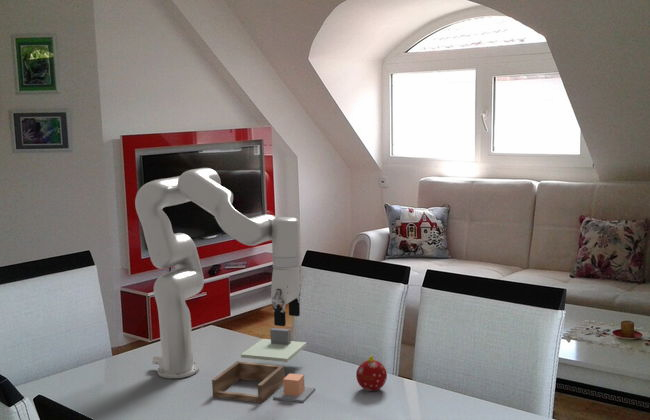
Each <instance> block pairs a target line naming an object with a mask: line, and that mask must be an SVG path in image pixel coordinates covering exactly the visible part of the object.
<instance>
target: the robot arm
mask: <svg viewBox="0 0 650 420" xmlns="http://www.w3.org/2000/svg"><path fill="white" fill-rule="evenodd" d="M221 184H222V182H221V178H220V176H219V174H218V172H217V171H216V170H215V169H212V168H210V167H200V168H194V169H193V168H192V169H190V170H189V169H188V170H186V171H184V172H183V173H181V175H178V176H172V177H167V178H159V179H154V180H151V181H149V182H146V183H144V184H143V185H142V186H140V188H139V190H138V191H137V192H136V196H135V199H134V204H135V210H136V214H137V216H138V218H139V222H140V223H141V226H142V227H141V228H142V231H143V235H144V239H145V243H146V246H147V250H148V255H149V258H150V262H151V263H152V265H153V266H154V267H155V268H157V269H160V270H163V269H169V268H172V267H174V268H175V269H174V270H170V271H168V272H165V273H163V274H162V275H160V276H159V277H158V278H157V279H156V280H155V281H154V284H153V295H154V299H155V302H156V303H155V304H156V306H157V313H158V322H159V323H158V324H159V325H158V326H159V337H160V338H159V339H160V350H161V351H160V352H161V355H154V356H153V357H152V362H151V363H152V365H158V366H159V368H157V375H158V376H159V377H161V378H163V379H172V380H173V379H175V380H176V379H183V378H188V377H190V376H193V375H195V374H197V373H198V372H199V370H200V366H199V364H198V363H196V362H194V355H193V354H194V351H193V350H194V349H193V337H192V334H193V333H192V321H191V320H192V317H191V312H190V309H189V307H188V305H187V303H186V300H187V299H188V298H191V297H194V296H195V295H197V294H199V293H200V292H201V291H202V290H203V288H204V284H205V277H204V273H203V268H202V265H201V260H200V256H199V254H198V253H199V252H198V249H197V245H196V244H195V242H194V240H193V239H192V238H191V236H189V235H188V234H186V233H182V232H177V233H174V231H173V227H172V223H171V220H170V219H169V217H168V215H167V213H165V211H164V210H163V209H164V208H166V207H172V206H177V205H181V204H184V203H188V202H192V203H194V204H196V205H197V206H199V207H200V208H202V209H203V210H204V211H206V212H208V213H209V214H211V215H212V216H214V218H215V220H216V222H217V224H218V226H219V227H220V228H221V230H222V231H223V232H224V233H225V234H227V236H230V237H231V238H233V239H235V240H236V241H237V242H239V243H241V244H243V245H246V246H249V247H250V246H252V247H253V246H257V245H259V244H262V243H266V242H269V241H271V242H272V243H271V244H272V246H271V247H272V249H271V250H272V251H271V252H272V253H271V254H272V268H273V269H272V275H271V285H270V286H271V288H270V290H271V293H270V294H271V297H270V299H271V304H272V309H273V310H272V312H273V319H274V320H273V321H274V323H273V324H274V326H278V327H285V326H286V325H287V322H286V311H285V308H286V305H287V304H288V315H289V316H292V317H300V315H301V314H300V313H301V312H300V308H301V306H300V301H301V298H300V296H301V288H302V285H301V284H300V283H301V282H300V281H301V279H300V271H299V269H300V268H299V267H300V265H301V264H300V224H299V223H300V222H299V220H298V219H297V217H292V216H281V217H280V216H276V215H273V214H268V213H265V214H260V215H256V216H253V217H248V216H246V215H244V214H243V213H241V212H239V211H238V210H237V209H235V207H234V206H233V203H234V202H233V201H234V193H233V192H232V191H231V190H230V189H228V188H226V187H225V186H222V185H221Z"/></svg>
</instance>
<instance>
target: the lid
mask: <svg viewBox="0 0 650 420" xmlns="http://www.w3.org/2000/svg"><path fill="white" fill-rule="evenodd" d="M269 331H270V339H269V338H261V339H260V340H259V341H257V342H256V343H254V344H253V345H252V346H250V347H248V349H247V350H245V351H244V352H242V353H241V354H240V358H243V359H251V360H252V359H253V360H263V361H264V360H265V361H272V362H283V363H288V362H289V361H291V360H292V359H293V358H294V357H295V356H297V354H299V353H301V351H302V350H303V349H305V348H306V347H307V344H308V343H307V341H306V342H305V341H294V340H291V338H292V336H291V329H290V328H282V327H281V328H280V327H272V328H271V329H269Z"/></svg>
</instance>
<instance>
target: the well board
mask: <svg viewBox="0 0 650 420" xmlns="http://www.w3.org/2000/svg"><path fill="white" fill-rule="evenodd" d="M285 377H286V376H285V365H277V364H266V363H259V362H258V363H257V362H248V361H247V362H246V361H235V362H234V363H233V364H231V365H230V366H229V367H227V368H226V369H225V370H224V371H222V372H221V373H219V374H218V375H216V376H215V377H214V378H213V379H212V380H211V384H212V388H211V389H212V397H213V398H220V399H228V400H237V401H245V402H254V403H261V404H263V403H264V402H265V401H266V400H267V399H268V398H270V396H272V395H273V394H274V393H275V392H276V391H277V390H278V389H279V388H280V387H281V386H283V379H284V378H285ZM239 380H247V381H252V382H253V381H255V382H259V383H258V384H257V393H258V394H251V393H243V392H235V391H234V392H232V391H227V390H228V389H229V388H231V387H232V386H233V385H234V384H235V383H237V382H239Z"/></svg>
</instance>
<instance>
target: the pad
mask: <svg viewBox="0 0 650 420" xmlns="http://www.w3.org/2000/svg"><path fill="white" fill-rule="evenodd" d="M315 391H316V387H310V386H309V387H307V386H305V390H304V391H303V392H302V394H301V395H300V396H292V395H284V386H283V387H282V388H280V390H279V391H278V392H276V393H275V395H273V397H272V398H273V399H272V400H279V401H288V402H295V403H296V402H297V403H305V402H306V400H307V399H308V398H309V397H311V395H312V394H313V393H314V392H315Z"/></svg>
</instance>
